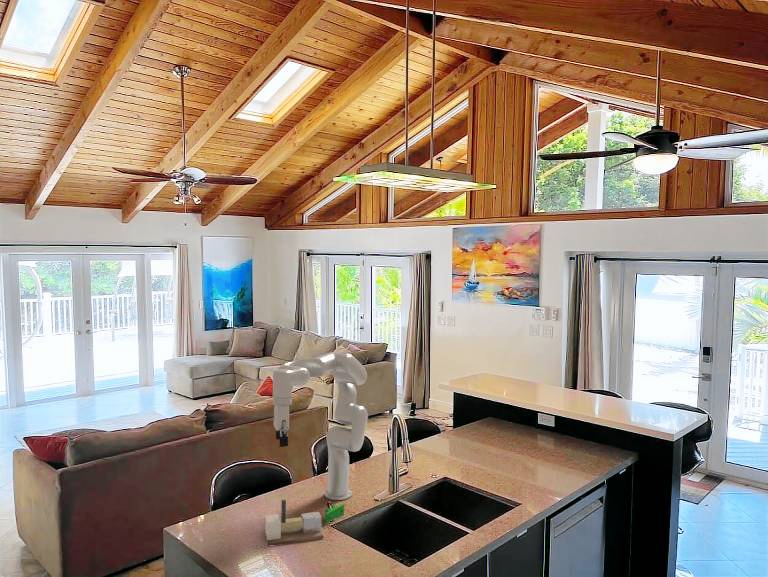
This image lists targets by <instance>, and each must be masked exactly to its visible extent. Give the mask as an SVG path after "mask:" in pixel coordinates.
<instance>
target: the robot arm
mask: <svg viewBox="0 0 768 577" xmlns="http://www.w3.org/2000/svg"><path fill="white" fill-rule="evenodd" d="M328 374H332V377H333V379H334V381H335V382H336V384H337V387H338V394H337V400H336V405H335V409H334V420H335V421H336V422H337V423H339V424H343V425H346V426H351V428H349V427H346V426H341V425H340V426H339V425H336V426H335V425H334V426H332V427H330V428H329V429H327V430H328V431H327V432H326V436H325V438H326V444H327V452H328V455H327V457H328V458H327V459H328V462H327V464H328V465H327V466H328V467H327V473H328V474H327V489H326V490H325V491H324V497H325V498H326V499H329V500H333V501H342V500H347V499H349V498H351V497H352V495H353V491H352V490H351V489H350V488H349V487H350V486H349V485H350V484H349V481H350V479H349V478H350V455H349V452H358V451H360V450H361V448H362V447H363V444H364V440H365V435H366V431H367V426H368V425H367V424H368V419H369V414H368V411H367V408H366V407H364V406H363V405H359V404H356V402H357V394H358V391H357V389H356V388H357V387H356V386H361V385H364V384H365V383H366V381H367V379H368V372H367V370H366V368H365V367H364V366H363V364H362V363H361V362H360V361H359V360H358V359H357V358H356V357H355V356H353V355H352V354H350V353H346V352H338V351H331V352H328V353H325V354H322V355H319V356H317V357H311V358H305V359H297V360H293V361H289V362H287V363H283V364H281V365H280V366H279V367H278V368H277V369H275V370H274V371H273V373H272V406H274V408H273V427H274V428H275V440H279V447H283V448H284V447H288V445H289V435H288V434H289V432H288V430H289V429H290V406H291V405H292V404H293V403H292V402H293V401H292V400H293V387H296V386H297V387H300V386H304V385H306V384H307V383H308V382H309V380H310V378H321V377H323V376H327V375H328Z"/></svg>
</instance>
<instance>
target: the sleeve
mask: <svg viewBox="0 0 768 577" xmlns="http://www.w3.org/2000/svg"><path fill="white" fill-rule="evenodd" d="M300 515H301V516H300V517H302V518H303V528H301V529H302V531H303V534H307V533H314V532H322V515H321V513H320V512H319V511H313V512H306V513H301V514H300Z"/></svg>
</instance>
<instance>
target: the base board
mask: <svg viewBox="0 0 768 577" xmlns="http://www.w3.org/2000/svg"><path fill="white" fill-rule="evenodd" d="M264 532H265V528H264V530H263V533H264ZM264 535H266V533H264ZM265 539H267V537H266V536H265ZM323 539H324V534H323V532H322V531H321V532H314V533H307V534H303V531H302V529H301V528H298V529H291V530H283V531H281V538H280V539H273V540H266V543H267V542H268V543H267V546H268V547H271V546H270V545H275V546H281V544H282V545H288V544H294V543H295V544H296V543H303V542H309V541H310V540H311V541H316V540H323Z"/></svg>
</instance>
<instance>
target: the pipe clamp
mask: <svg viewBox="0 0 768 577" xmlns="http://www.w3.org/2000/svg"><path fill="white" fill-rule="evenodd" d="M342 515H343V516H344V515H345V504H342V503H341V504H339V505H338V506H337V505H335V504H332V505H331V508H324V524H325V523H328V522H330V521H331V520H333V519H335V518H337V519H339V518H341V517H343V516H342ZM340 516H341V517H340ZM338 517H339V518H338ZM330 523H331V522H330Z"/></svg>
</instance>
